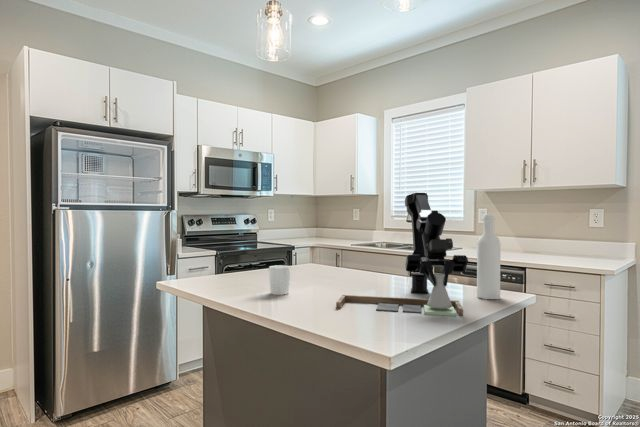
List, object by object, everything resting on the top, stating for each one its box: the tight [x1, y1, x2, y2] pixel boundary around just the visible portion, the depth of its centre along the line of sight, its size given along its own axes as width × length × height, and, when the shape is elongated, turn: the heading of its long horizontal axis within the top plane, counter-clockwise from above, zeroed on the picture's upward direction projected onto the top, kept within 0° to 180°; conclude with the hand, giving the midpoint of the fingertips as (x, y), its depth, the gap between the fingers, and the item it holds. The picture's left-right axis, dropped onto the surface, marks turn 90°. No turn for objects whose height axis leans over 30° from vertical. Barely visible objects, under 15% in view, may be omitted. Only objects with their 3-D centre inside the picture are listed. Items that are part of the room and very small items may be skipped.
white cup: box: [268, 264, 291, 296], centre depth 154 cm, size 8×8×10 cm
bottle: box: [476, 213, 501, 300], centre depth 148 cm, size 8×8×30 cm
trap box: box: [335, 294, 464, 317], centre depth 132 cm, size 12×38×2 cm, turn 77°
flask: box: [427, 273, 452, 309], centre depth 127 cm, size 7×7×10 cm
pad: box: [423, 305, 457, 317], centre depth 127 cm, size 9×9×1 cm
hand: (440, 285), depth 126 cm, fingers closed on flask, 3 cm apart
